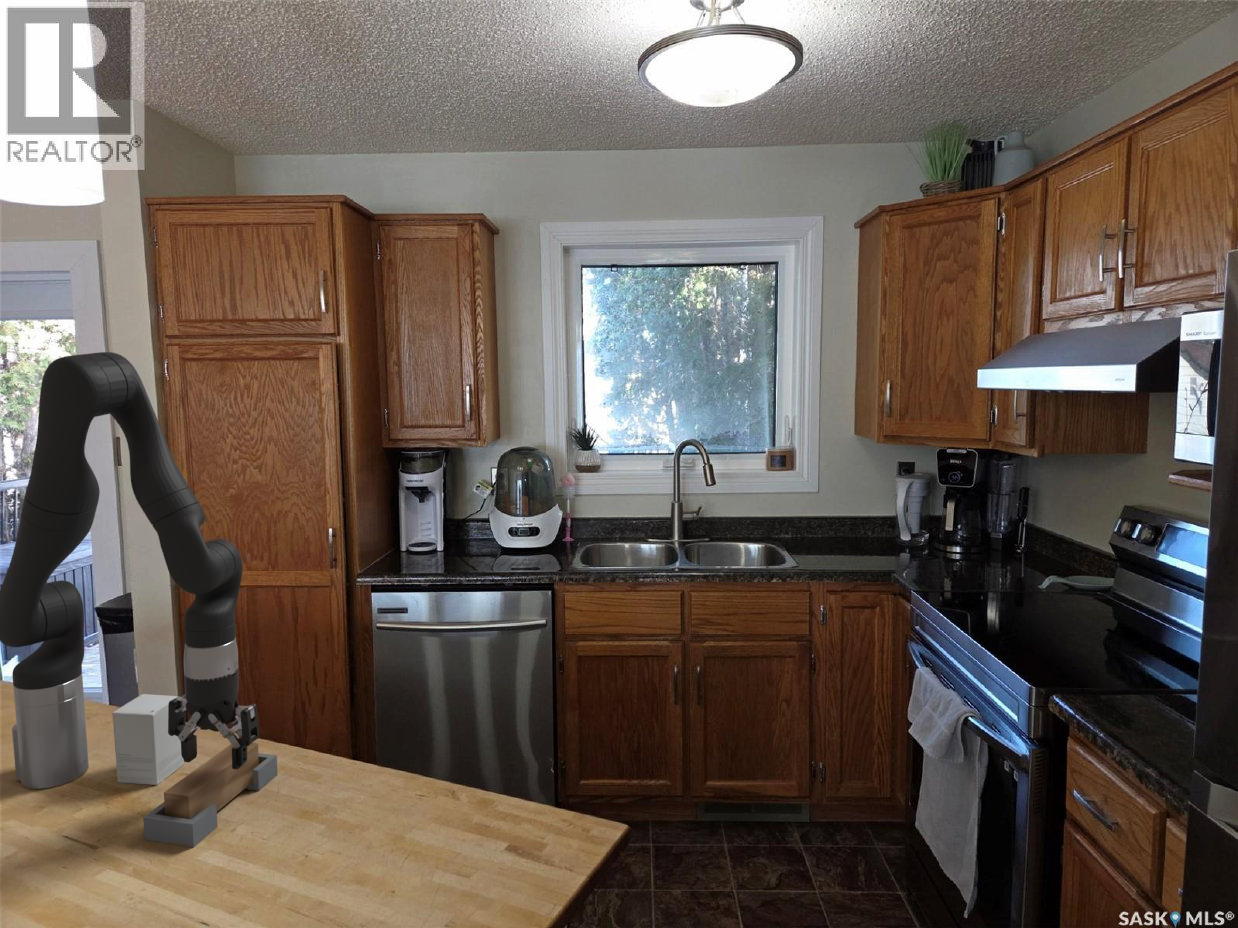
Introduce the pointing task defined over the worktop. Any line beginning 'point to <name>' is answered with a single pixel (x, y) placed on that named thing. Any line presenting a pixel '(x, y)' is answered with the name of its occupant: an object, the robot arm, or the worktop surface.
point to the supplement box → (145, 741)
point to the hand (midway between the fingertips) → (214, 763)
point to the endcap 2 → (263, 771)
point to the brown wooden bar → (210, 784)
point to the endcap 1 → (179, 826)
